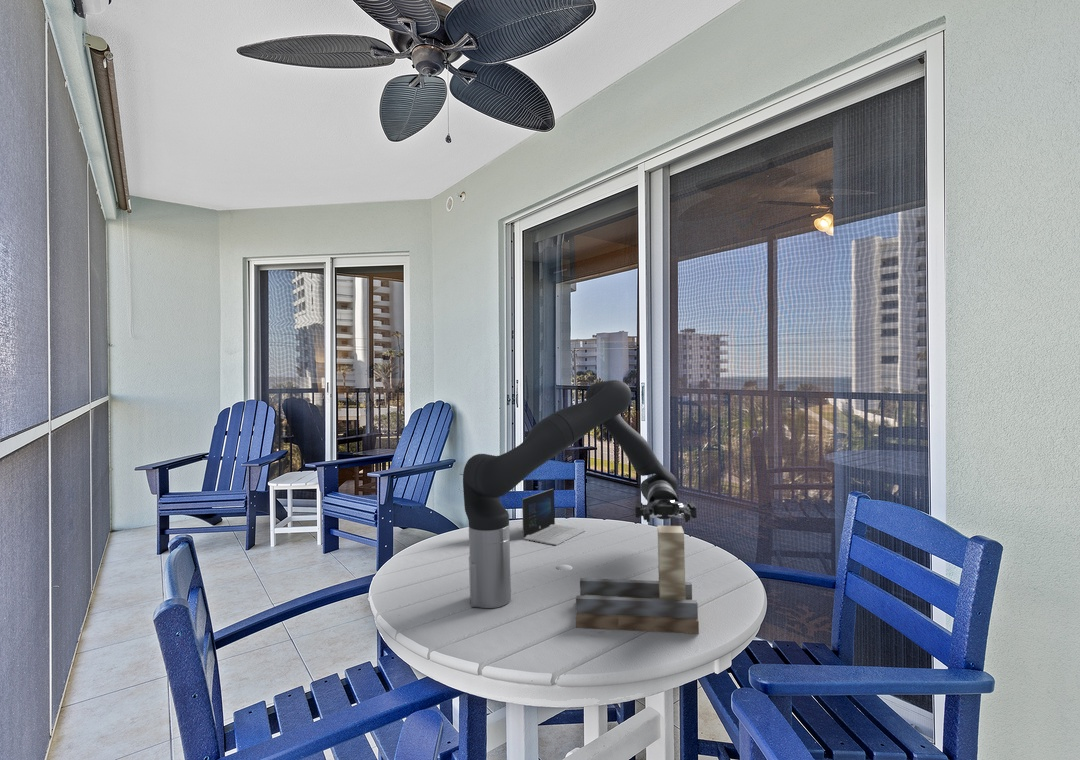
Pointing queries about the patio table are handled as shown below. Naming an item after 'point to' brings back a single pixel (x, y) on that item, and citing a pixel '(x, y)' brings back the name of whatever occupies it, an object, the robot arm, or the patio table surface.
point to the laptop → (544, 520)
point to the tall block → (671, 562)
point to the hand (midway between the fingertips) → (667, 517)
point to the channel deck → (634, 607)
